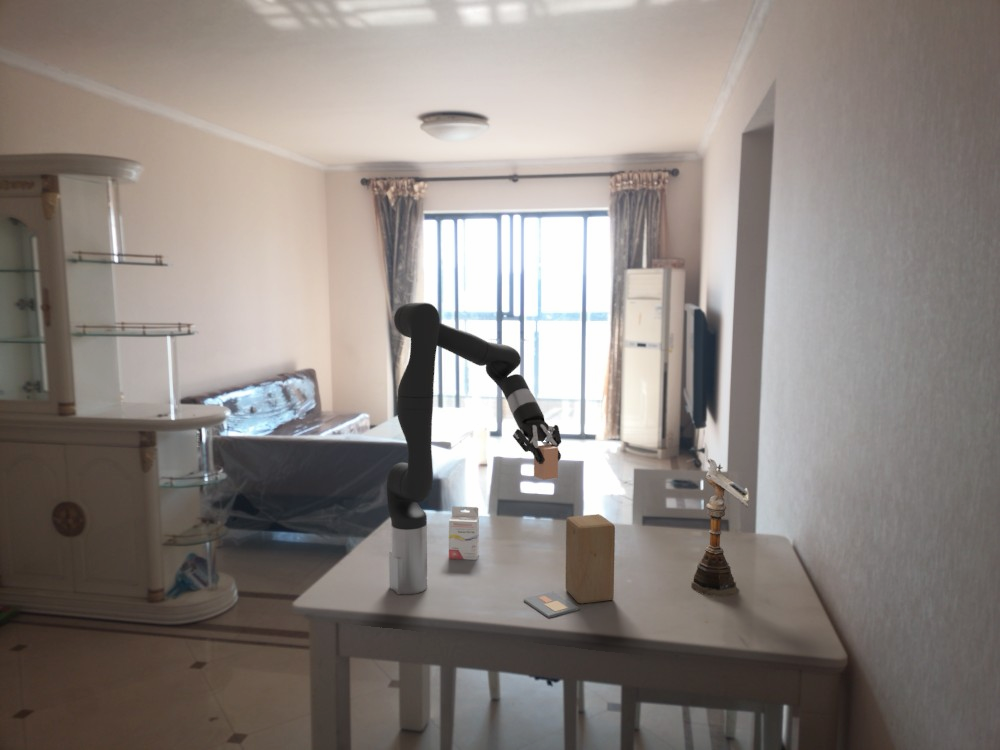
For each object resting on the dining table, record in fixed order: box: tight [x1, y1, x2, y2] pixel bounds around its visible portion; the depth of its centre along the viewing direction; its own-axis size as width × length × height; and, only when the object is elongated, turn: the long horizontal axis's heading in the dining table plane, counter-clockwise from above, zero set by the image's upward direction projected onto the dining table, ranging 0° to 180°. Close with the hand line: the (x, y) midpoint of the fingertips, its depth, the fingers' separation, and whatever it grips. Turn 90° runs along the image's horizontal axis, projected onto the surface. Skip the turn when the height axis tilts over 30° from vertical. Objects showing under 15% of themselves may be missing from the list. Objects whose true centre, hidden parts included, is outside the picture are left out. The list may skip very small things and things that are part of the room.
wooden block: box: [565, 514, 616, 604], centre depth 179 cm, size 10×10×20 cm
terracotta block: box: [533, 444, 559, 481], centre depth 184 cm, size 4×4×8 cm
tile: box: [523, 591, 580, 619], centre depth 174 cm, size 9×11×1 cm
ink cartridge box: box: [448, 505, 480, 561], centre depth 207 cm, size 9×5×15 cm, turn 84°
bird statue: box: [690, 458, 751, 597], centre depth 184 cm, size 17×13×35 cm
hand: (550, 461), depth 182 cm, fingers closed on terracotta block, 4 cm apart
